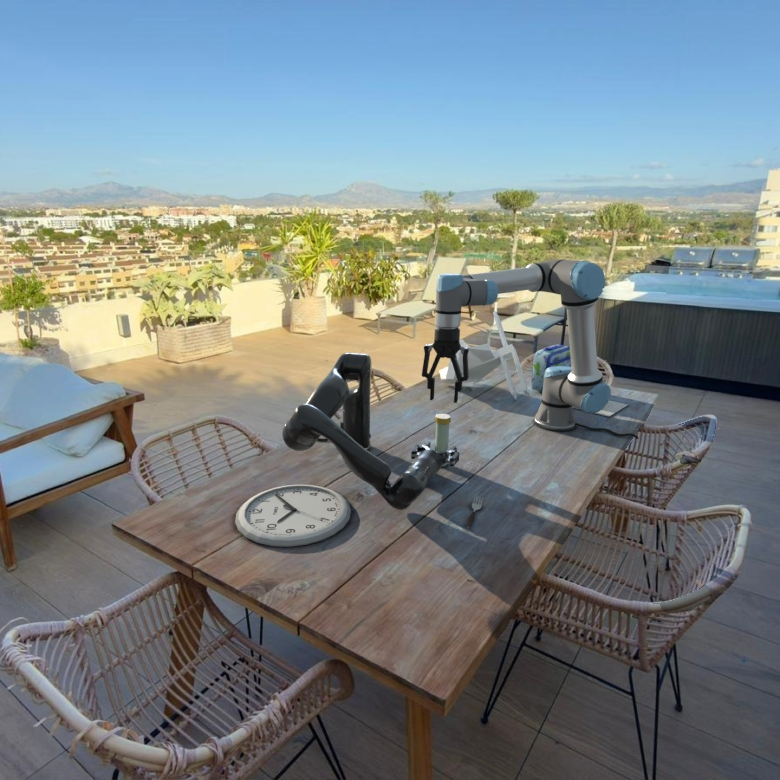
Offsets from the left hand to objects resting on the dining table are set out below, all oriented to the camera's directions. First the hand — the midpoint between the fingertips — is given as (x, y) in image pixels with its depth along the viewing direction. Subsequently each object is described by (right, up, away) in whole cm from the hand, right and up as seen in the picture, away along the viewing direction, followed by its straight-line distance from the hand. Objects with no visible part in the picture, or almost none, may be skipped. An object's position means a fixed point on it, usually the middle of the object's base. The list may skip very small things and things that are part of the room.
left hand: (442, 446), depth 167 cm
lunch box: (+61, +18, +82) cm, 104 cm away
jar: (0, -6, +2) cm, 6 cm away
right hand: (0, +15, -5) cm, 16 cm away
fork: (+5, -15, -29) cm, 33 cm away
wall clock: (-42, -15, -29) cm, 53 cm away
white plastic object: (+25, +17, +76) cm, 82 cm away
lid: (0, +10, -3) cm, 10 cm away
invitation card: (+75, +11, +59) cm, 96 cm away
